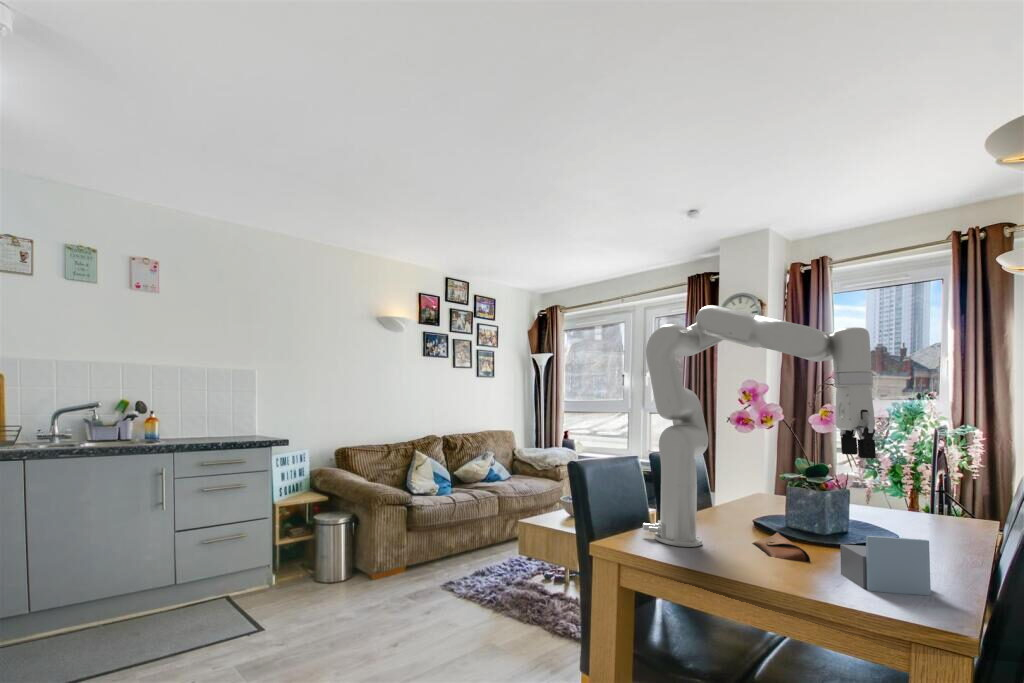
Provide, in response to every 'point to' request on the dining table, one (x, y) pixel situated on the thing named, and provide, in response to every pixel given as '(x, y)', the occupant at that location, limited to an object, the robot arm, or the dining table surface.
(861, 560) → the block
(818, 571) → the dining table surface
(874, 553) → the side door
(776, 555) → the sunglasses case
